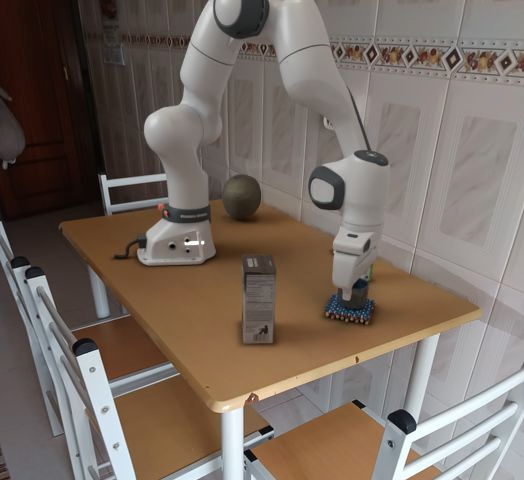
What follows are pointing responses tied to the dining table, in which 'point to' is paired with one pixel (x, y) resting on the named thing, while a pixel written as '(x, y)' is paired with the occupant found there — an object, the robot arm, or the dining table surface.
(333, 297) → the woven mat
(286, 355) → the dining table surface
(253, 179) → the cantaloupe
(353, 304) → the cup
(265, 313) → the coffee box
